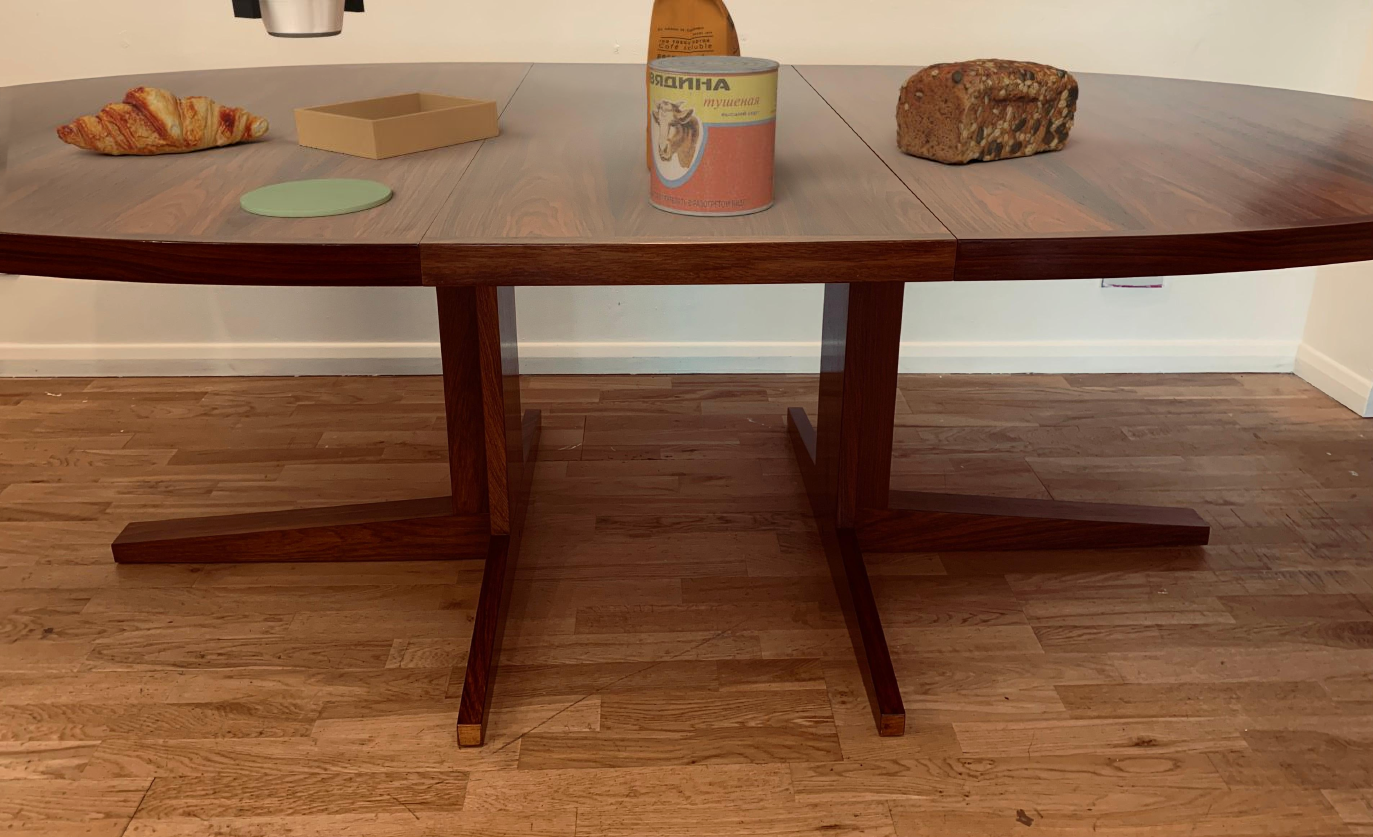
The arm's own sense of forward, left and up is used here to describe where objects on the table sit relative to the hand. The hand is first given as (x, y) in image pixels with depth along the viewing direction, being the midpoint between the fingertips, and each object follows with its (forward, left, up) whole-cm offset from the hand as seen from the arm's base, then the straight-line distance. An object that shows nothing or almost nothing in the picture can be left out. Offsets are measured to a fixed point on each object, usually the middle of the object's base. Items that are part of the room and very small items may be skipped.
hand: (302, 14), depth 88 cm
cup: (0, 0, -2) cm, 2 cm away
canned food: (+31, +18, -16) cm, 39 cm away
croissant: (-31, +2, -16) cm, 35 cm away
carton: (-15, +21, -15) cm, 30 cm away
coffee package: (+20, +31, -16) cm, 40 cm away
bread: (+42, +56, -16) cm, 72 cm away
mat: (+2, -3, -15) cm, 16 cm away
